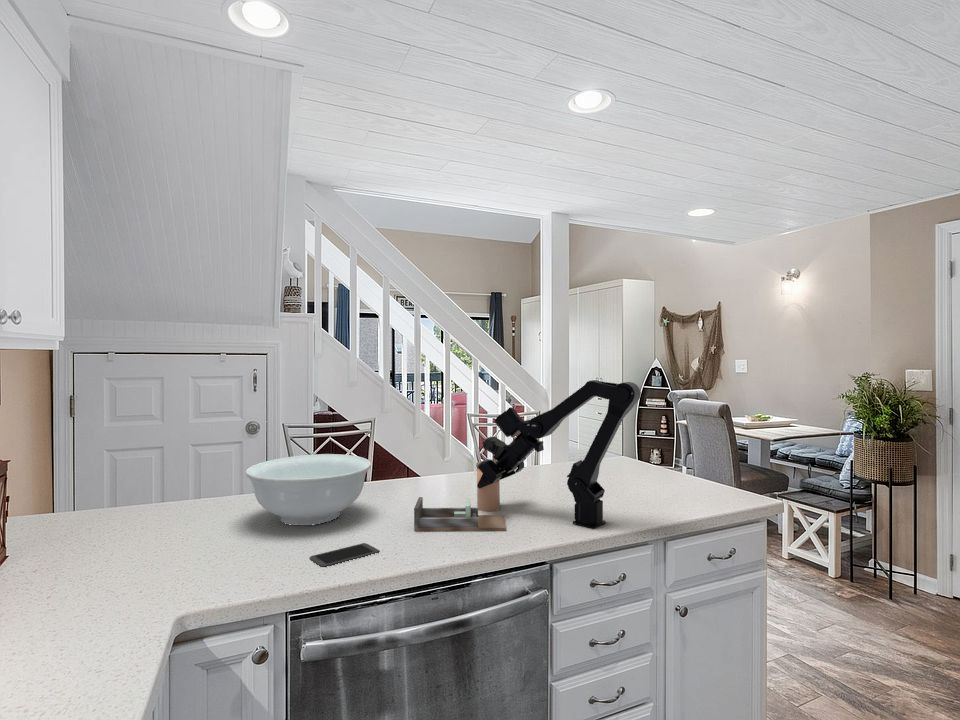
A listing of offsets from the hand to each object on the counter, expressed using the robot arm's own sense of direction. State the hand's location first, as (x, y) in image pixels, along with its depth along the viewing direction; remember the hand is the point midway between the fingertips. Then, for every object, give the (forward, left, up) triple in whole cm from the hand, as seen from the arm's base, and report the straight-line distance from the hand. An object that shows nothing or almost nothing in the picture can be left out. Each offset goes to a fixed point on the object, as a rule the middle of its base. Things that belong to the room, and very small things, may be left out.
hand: (484, 484), depth 157 cm
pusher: (-6, +16, -6) cm, 18 cm away
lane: (-6, +16, -7) cm, 18 cm away
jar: (-1, 0, -7) cm, 7 cm away
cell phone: (-2, +49, -7) cm, 49 cm away
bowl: (+29, +39, -7) cm, 49 cm away
